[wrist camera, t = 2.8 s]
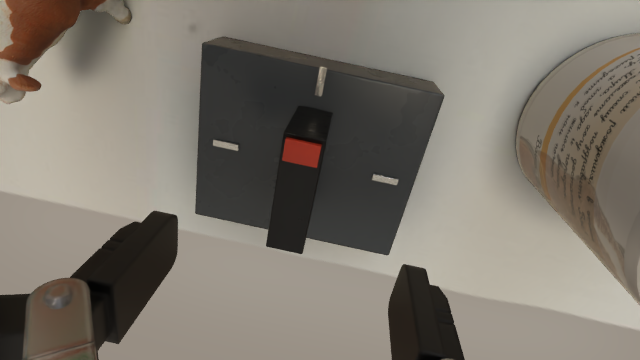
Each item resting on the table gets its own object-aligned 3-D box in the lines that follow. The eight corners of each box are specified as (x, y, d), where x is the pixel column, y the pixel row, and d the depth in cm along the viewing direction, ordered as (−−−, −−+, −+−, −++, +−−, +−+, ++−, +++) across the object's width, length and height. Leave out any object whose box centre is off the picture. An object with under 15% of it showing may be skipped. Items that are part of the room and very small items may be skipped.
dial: (312, 211, 22) (301, 257, 18) (281, 204, 22) (264, 249, 18) (333, 112, 19) (325, 142, 15) (298, 105, 19) (282, 133, 15)
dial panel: (212, 192, 25) (193, 217, 22) (222, 34, 21) (200, 40, 18) (385, 229, 25) (388, 259, 22) (435, 80, 21) (446, 94, 18)
